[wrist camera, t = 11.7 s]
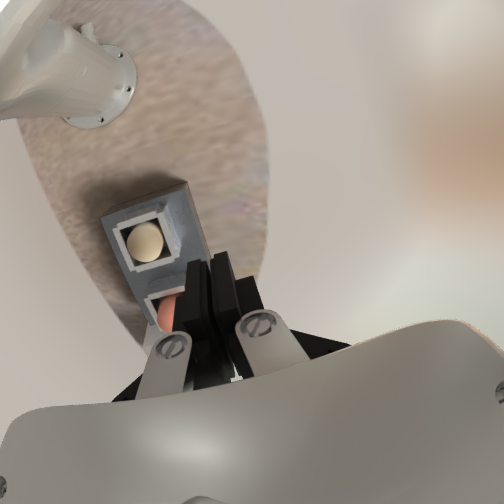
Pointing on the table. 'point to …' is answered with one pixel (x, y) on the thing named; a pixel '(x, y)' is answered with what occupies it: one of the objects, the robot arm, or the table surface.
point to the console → (173, 251)
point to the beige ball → (146, 241)
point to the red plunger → (167, 312)
